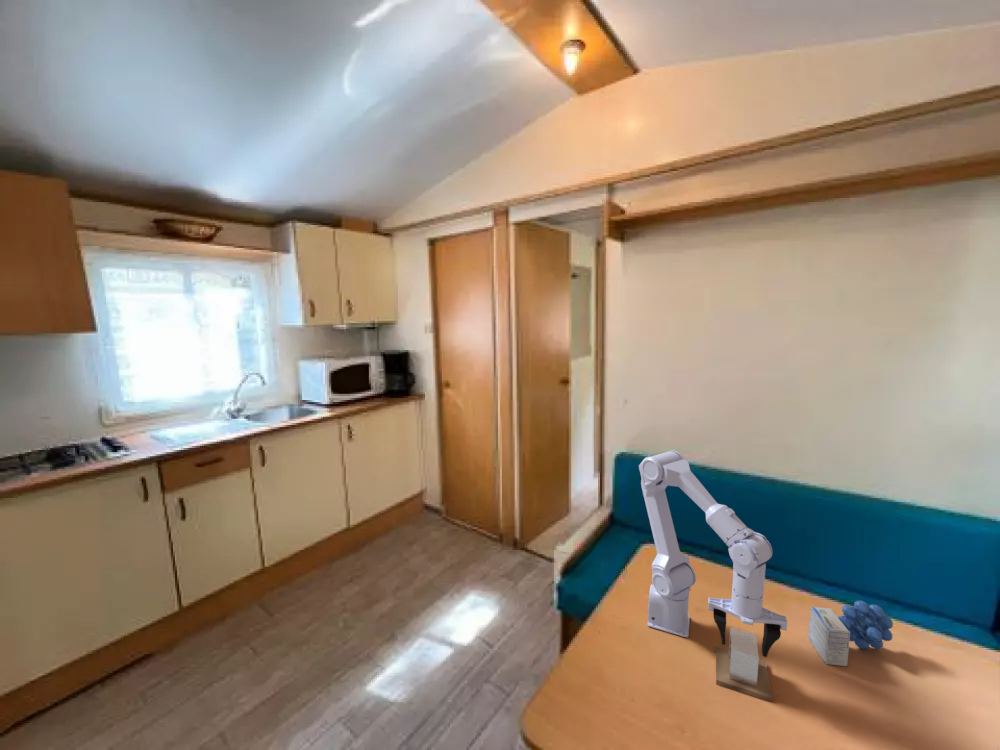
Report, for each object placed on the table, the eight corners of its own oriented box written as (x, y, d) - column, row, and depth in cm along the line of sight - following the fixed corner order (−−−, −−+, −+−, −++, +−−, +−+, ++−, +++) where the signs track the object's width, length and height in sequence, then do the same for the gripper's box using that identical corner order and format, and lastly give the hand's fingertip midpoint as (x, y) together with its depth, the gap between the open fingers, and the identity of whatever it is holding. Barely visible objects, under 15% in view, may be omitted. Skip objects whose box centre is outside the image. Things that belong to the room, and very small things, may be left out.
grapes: (847, 661, 96) (853, 613, 94) (828, 638, 103) (833, 593, 101) (904, 665, 94) (911, 616, 93) (881, 641, 101) (887, 596, 99)
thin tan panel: (716, 683, 91) (717, 667, 90) (715, 650, 100) (716, 634, 99) (771, 701, 87) (772, 684, 86) (765, 664, 95) (767, 649, 95)
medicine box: (847, 667, 94) (851, 632, 93) (824, 664, 95) (828, 630, 94) (828, 640, 102) (831, 608, 101) (807, 638, 103) (810, 605, 101)
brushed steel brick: (729, 678, 91) (731, 649, 90) (728, 654, 97) (730, 627, 96) (756, 687, 89) (758, 657, 88) (753, 662, 95) (755, 634, 94)
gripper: (709, 592, 90) (706, 649, 92) (791, 612, 83) (786, 673, 85) (709, 573, 96) (706, 627, 98) (786, 591, 90) (781, 648, 92)
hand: (743, 647), depth 92 cm, fingers open, 7 cm apart
